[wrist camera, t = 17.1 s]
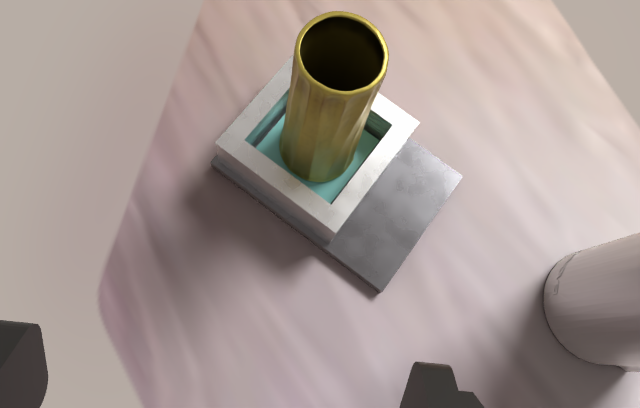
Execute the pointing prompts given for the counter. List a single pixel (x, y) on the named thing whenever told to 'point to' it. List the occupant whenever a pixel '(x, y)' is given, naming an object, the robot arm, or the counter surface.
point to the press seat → (327, 188)
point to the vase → (331, 93)
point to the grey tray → (356, 197)
